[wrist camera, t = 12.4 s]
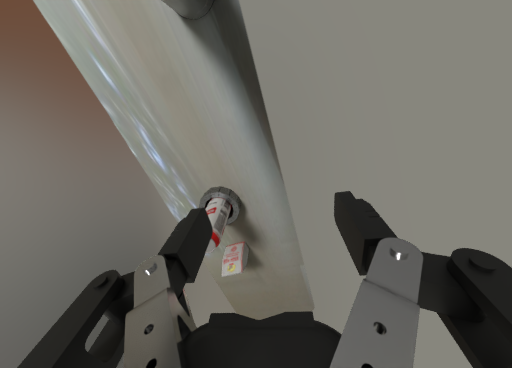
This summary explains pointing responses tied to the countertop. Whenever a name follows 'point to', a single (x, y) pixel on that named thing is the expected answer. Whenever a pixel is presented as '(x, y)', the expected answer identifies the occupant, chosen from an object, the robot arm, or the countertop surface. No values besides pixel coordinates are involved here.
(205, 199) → the collar
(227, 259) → the white printed box
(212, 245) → the beer can
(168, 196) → the countertop surface
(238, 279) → the countertop surface
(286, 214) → the countertop surface
